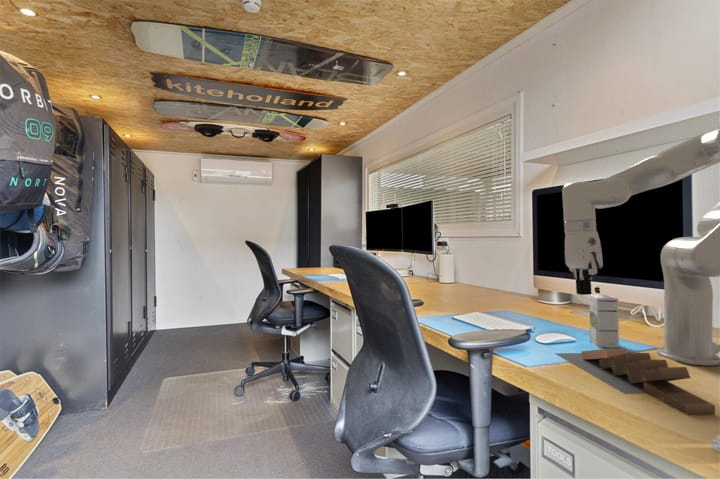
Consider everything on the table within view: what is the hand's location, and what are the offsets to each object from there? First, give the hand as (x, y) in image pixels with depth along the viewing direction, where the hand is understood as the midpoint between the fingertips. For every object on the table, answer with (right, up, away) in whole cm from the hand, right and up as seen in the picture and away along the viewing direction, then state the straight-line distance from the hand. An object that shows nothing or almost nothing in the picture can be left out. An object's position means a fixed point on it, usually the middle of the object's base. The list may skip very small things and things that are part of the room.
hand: (584, 294), depth 103 cm
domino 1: (-2, -15, -7) cm, 16 cm away
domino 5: (-1, -15, -27) cm, 31 cm away
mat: (-3, -16, -15) cm, 22 cm away
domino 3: (-2, -15, -18) cm, 23 cm away
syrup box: (+10, -16, +7) cm, 20 cm away
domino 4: (-2, -15, -23) cm, 27 cm away
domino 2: (-2, -15, -13) cm, 20 cm away
